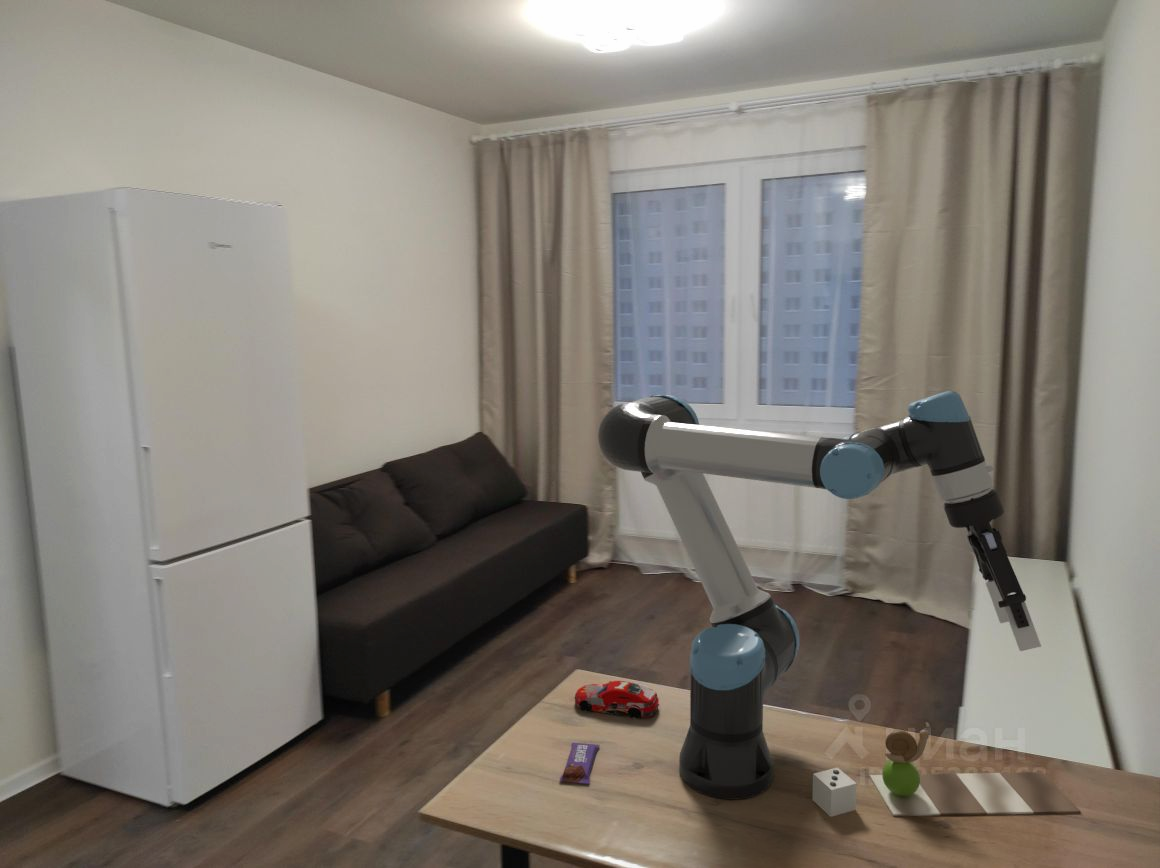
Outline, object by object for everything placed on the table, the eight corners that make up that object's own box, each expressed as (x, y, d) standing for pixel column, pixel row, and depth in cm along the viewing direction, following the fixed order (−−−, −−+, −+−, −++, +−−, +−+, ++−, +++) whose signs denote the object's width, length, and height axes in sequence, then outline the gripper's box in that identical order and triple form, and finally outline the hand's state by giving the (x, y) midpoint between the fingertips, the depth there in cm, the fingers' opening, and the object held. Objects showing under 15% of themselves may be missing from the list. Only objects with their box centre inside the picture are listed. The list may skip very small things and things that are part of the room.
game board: (893, 816, 120) (893, 814, 120) (869, 776, 130) (869, 775, 130) (1080, 812, 120) (1080, 811, 120) (1042, 773, 130) (1042, 772, 130)
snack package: (571, 737, 141) (600, 739, 140) (571, 747, 141) (600, 750, 140) (558, 775, 130) (589, 778, 129) (558, 786, 130) (589, 789, 129)
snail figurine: (929, 806, 122) (933, 733, 120) (884, 801, 123) (888, 729, 121) (921, 785, 127) (925, 715, 125) (879, 781, 128) (882, 711, 126)
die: (830, 817, 120) (831, 789, 120) (812, 800, 125) (813, 772, 124) (855, 810, 122) (856, 782, 121) (836, 793, 126) (837, 766, 125)
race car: (570, 711, 153) (569, 687, 152) (581, 694, 160) (580, 671, 159) (652, 723, 148) (652, 698, 147) (661, 706, 154) (661, 682, 153)
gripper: (1013, 498, 105) (1071, 654, 104) (980, 478, 128) (1027, 604, 127) (954, 515, 107) (1009, 668, 106) (932, 492, 131) (977, 616, 130)
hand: (1019, 633), depth 117 cm, fingers open, 13 cm apart
